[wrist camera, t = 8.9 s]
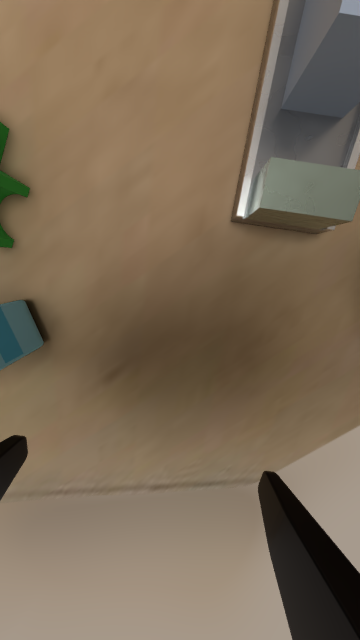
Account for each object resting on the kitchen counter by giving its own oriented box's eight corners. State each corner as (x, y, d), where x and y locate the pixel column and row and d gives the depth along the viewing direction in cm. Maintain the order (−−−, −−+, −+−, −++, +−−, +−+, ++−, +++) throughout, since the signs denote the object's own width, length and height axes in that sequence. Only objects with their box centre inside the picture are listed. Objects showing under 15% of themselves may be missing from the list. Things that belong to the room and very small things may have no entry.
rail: (445, -179, 10) (634, -504, 6) (316, 233, 16) (364, 223, 11) (312, -200, 10) (404, -542, 6) (230, 221, 16) (246, 205, 11)
